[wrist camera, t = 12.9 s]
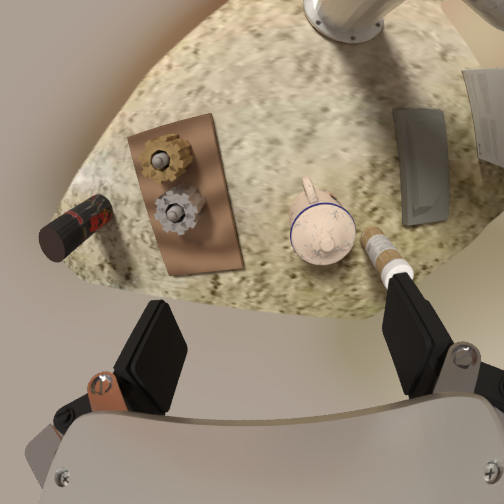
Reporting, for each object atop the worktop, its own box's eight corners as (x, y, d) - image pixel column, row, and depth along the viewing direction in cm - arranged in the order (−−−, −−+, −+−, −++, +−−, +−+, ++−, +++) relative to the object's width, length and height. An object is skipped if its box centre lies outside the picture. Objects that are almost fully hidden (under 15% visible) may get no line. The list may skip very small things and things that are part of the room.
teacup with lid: (347, 230, 44) (367, 265, 34) (296, 245, 46) (302, 284, 36) (329, 162, 39) (349, 178, 29) (273, 179, 41) (273, 201, 31)
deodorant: (95, 188, 44) (43, 219, 30) (117, 207, 45) (69, 244, 32) (84, 211, 46) (35, 245, 33) (105, 229, 47) (60, 269, 34)
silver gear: (161, 186, 41) (148, 195, 37) (200, 178, 40) (191, 186, 36) (171, 225, 44) (161, 237, 40) (210, 218, 43) (202, 231, 39)
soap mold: (400, 223, 43) (407, 231, 40) (390, 109, 34) (399, 109, 31) (444, 215, 42) (453, 223, 38) (439, 108, 33) (450, 109, 30)
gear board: (131, 136, 39) (106, 142, 32) (211, 113, 37) (197, 112, 30) (171, 271, 51) (157, 296, 44) (243, 263, 49) (238, 289, 42)
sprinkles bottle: (377, 251, 46) (404, 296, 34) (355, 245, 45) (379, 290, 34) (387, 229, 43) (419, 269, 32) (365, 222, 43) (394, 262, 31)
